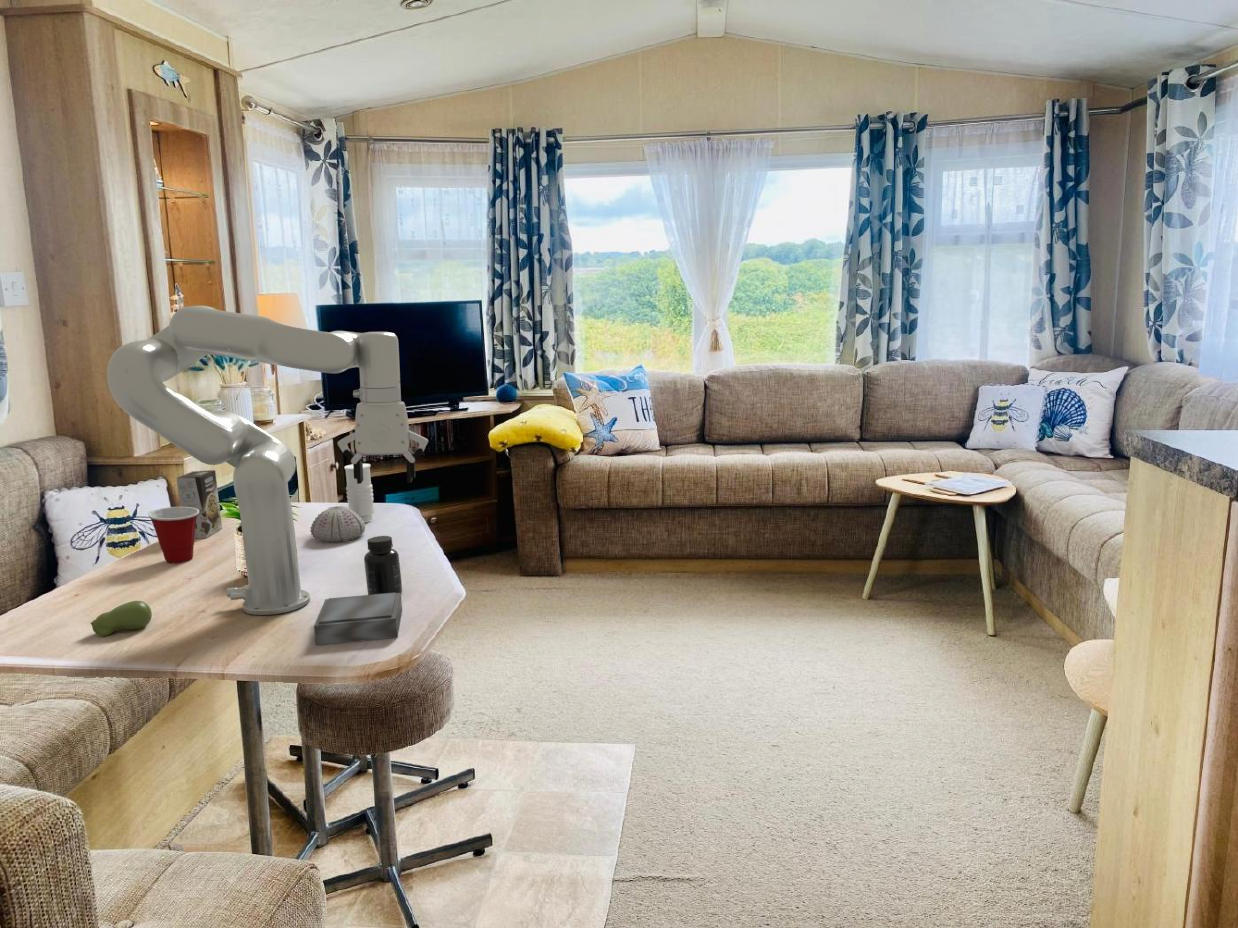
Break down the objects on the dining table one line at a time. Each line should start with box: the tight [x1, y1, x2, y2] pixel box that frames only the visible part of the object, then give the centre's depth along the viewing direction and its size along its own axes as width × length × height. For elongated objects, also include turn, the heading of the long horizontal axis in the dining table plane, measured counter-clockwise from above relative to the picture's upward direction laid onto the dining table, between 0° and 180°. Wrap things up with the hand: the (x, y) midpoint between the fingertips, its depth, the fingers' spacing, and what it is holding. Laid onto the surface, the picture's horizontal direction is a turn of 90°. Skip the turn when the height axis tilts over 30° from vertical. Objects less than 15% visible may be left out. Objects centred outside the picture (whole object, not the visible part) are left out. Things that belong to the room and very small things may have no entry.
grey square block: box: [313, 593, 403, 646], centre depth 167 cm, size 14×14×4 cm
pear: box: [90, 600, 153, 638], centre depth 170 cm, size 6×5×10 cm
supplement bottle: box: [363, 535, 403, 595], centre depth 183 cm, size 7×7×12 cm
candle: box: [344, 463, 375, 523], centre depth 244 cm, size 7×7×15 cm
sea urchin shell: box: [309, 505, 366, 543], centre depth 229 cm, size 13×14×8 cm
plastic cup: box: [148, 506, 199, 565], centre depth 213 cm, size 11×11×12 cm
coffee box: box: [176, 469, 223, 539], centre depth 236 cm, size 9×6×16 cm
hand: (385, 481), depth 180 cm, fingers open, 9 cm apart
